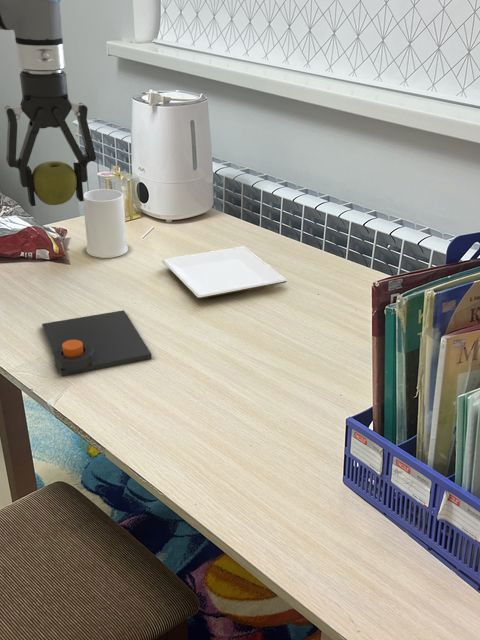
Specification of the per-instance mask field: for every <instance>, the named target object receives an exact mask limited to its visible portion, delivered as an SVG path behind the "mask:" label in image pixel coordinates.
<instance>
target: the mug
mask: <svg viewBox="0 0 480 640" xmlns="http://www.w3.org/2000/svg"><path fill="white" fill-rule="evenodd" d="M83 197H84V201H82V205H83V214H84V224H85V225H84V226H85V233H86V235H85V236H86V253H87V254H88V255H89V256H92V257H94V258H101V259H110V258H117V257H120V256H123V255H125V254H126V253H127V252H128V251H129V246H128V244H127V230H126V215H125V214H126V213H125V199H124V193H123V192H122V191H120V190H117V189H112V188H98V189H97V188H96V189H91V190H88V191H86V192H83Z"/></svg>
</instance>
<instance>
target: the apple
mask: <svg viewBox="0 0 480 640" xmlns="http://www.w3.org/2000/svg"><path fill="white" fill-rule="evenodd" d="M32 179H33V187H34V195H36V197H37V199H39V200H40V201H41V202H42V203H44V204H45V205H48V206H58V205H63V204H65V203H67V202H69V201H70V200H71V199H72V198H73V196H74V194H76V187H77V177H76V174H75V171H74V167H72V166H71V165H69V164H68V163H66V162H63V161H59V160H52V161H44V162H42V163H39V164H38V165H36V166H35V167H34V168H33V171H32Z"/></svg>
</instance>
